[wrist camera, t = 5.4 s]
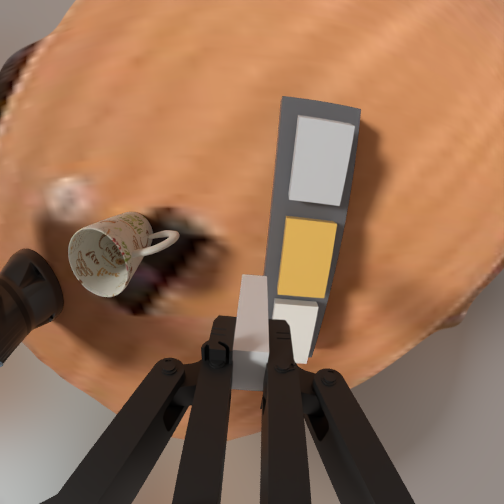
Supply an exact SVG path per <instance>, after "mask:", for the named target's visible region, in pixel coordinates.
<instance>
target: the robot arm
mask: <svg viewBox="0 0 504 504" xmlns="http://www.w3.org/2000/svg"><path fill="white" fill-rule="evenodd" d="M62 308H63V295H62V291H61V288H60V285H59V282H58V280H57V278H56V276H55V274H54V273H53V271H52V269H51V268H50V266H49V265H48V264H47V263H46V261H45V260H44V259H43V258H42V257H41V256H40V255H38V254H37V253H36V252H34V251H32V250H30V249H21V250H19V251H18V252H16V253H15V254H13V255H12V256H11V257H10V259H9V260H8V262H7V263H6V265H5V266H4V268H3V269H2V271H1V272H0V367H1V366H3V363H4V362H5V361H6V360H7V358H8V357H9V356H10V355H11V353H12V352H13V351H14V350H15V349H16V348H17V346H18V345H19V344H20V343H21V342H22V341H23V340H24V338H25V337H26V336H27V335H28V334H29V333H30V332H31V331H32V330H33V329H35V328H38V327H40V326H42V325H44V324H47V323H49V322H51V321H53V320H54V319H55V318H56V317H57V316H58V315H59V314H60V313H61V311H62ZM201 353H202V360H200V361H198V362H196V363H192V364H184V365H183V364H182V362H181V361H179V360H177V359H175V358H164V359H162V360H160V361H158V362H157V363H156V364H155V366H154V367H153V368H152V369H151V371H150V372H149V373H148V375H147V376H146V377H145V379H144V380H143V381H142V383H141V384H140V385H139V386H138V388H137V389H136V390H135V392H134V393H133V394H132V396H131V397H130V398H129V400H128V401H127V402H126V403H125V405H124V406H123V407H122V409H121V410H120V411H119V413H118V414H117V415H116V417H115V418H114V419H113V421H112V422H111V424H110V425H109V426H108V427H107V429H106V430H105V431H104V433H103V434H102V435H101V436H100V438H99V439H98V440H97V442H96V443H95V444H94V446H93V447H92V448H91V450H90V451H89V452H88V454H87V455H86V456H85V458H84V459H83V460H82V462H81V463H80V464H79V466H78V467H77V469H76V470H75V471H74V473H73V474H72V475H71V476H70V478H69V479H68V480H67V482H66V483H65V484H64V486H63V487H62V489H61V490H60V491H59V493H58V494H57V495H55V496H53V497H51V498H49V499H48V500H46V501H44V502H42V503H40V504H131V503H132V502H133V500H134V499H135V497H136V495H137V494H138V492H139V490H140V488H141V487H142V485H143V484H144V482H145V480H146V479H147V477H148V475H149V474H150V472H151V470H152V469H153V467H154V465H155V464H156V462H157V460H158V459H159V457H160V455H161V453H162V452H163V450H164V448H165V446H166V445H167V443H168V441H169V440H170V438H171V436H172V435H173V433H174V431H175V429H176V428H177V426H178V424H179V422H180V421H181V419H182V417H183V416H184V414H185V412H186V410H187V409H188V407H189V406H190V405H192V408H191V412H190V417H189V422H188V426H187V431H186V436H185V440H184V445H183V451H182V455H181V460H180V465H179V470H178V475H177V480H176V485H175V491H174V496H173V501H172V504H220V502H221V491H222V481H223V471H224V461H225V450H226V441H227V431H228V422H229V412H230V402H231V389H238V390H251V391H263V397H262V403H261V408H260V409H262V428H261V479H260V480H261V481H260V483H261V484H260V504H311V493H310V480H309V468H308V458H307V457H308V456H307V446H306V437H305V425H304V419H305V421H306V424H307V426H308V428H309V431H310V433H311V435H312V438H313V440H314V443H315V445H316V447H317V450H318V452H319V454H320V457H321V459H322V462H323V464H324V466H325V469H326V471H327V473H328V476H329V478H330V480H331V483H332V485H333V487H334V489H335V492H336V494H337V496H338V499H339V501H340V503H341V504H415V503H414V501H413V499H412V498H411V495H410V494H409V492H408V490H407V488H406V486H405V485H404V483H403V481H402V479H401V477H400V476H399V474H398V472H397V470H396V468H395V467H394V465H393V463H392V461H391V460H390V458H389V456H388V454H387V452H386V451H385V449H384V447H383V445H382V444H381V442H380V441H379V438H378V437H377V435H376V433H375V432H374V430H373V428H372V426H371V424H370V423H369V421H368V419H367V418H366V416H365V414H364V412H363V411H362V409H361V407H360V405H359V404H358V402H357V400H356V399H355V397H354V395H353V394H352V392H351V390H350V388H349V387H348V385H347V383H346V382H345V380H344V378H343V376H342V375H341V374H340V373H339V372H337V371H335V370H333V369H322V370H319V371H318V372H317V373H316V374H315V373H311V372H308V371H305V370H303V369H301V368H299V367H298V366H297V364H296V363H295V361H294V355H293V347H292V340H291V331H290V326H289V324H288V323H287V322H286V320H279V319H268V293H267V276H257V275H244V274H242V281H241V289H240V296H239V304H238V312H237V317H231V316H220V315H219V316H218V317H217V318H216V319H215V320H214V322H213V326H212V330H211V335H210V339H209V341H207V342H205V343H204V344H203V345H202V347H201Z"/></svg>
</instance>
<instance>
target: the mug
mask: <svg viewBox="0 0 504 504" xmlns="http://www.w3.org/2000/svg"><path fill="white" fill-rule="evenodd" d="M161 237H169V238H167V239H166V240H164V241H163V242H161V243H158V244H156V245H154V246H151V243H152V240H153V239H154V238H161ZM178 238H179V233H178V232H177V231H171V230H164V231H161V232H157V233H154V234H153V231H152V227H151V225H150V223H149V222H148V220H147V219H146V218H145V217H144V216H143V215H141V214H139V213H137V212H126V213H122V214H120V215H117V216H114V217H111V218H108V219H105V220H102V221H100V222H97V223H94V224H91V225H89V226H86V227H84V228H82V229H80V230H78V231H77V232H76V233H75V234H74V235H73V237H72V238H71V240H70V243H69V248H68V256H69V262H70V265H71V268H72V271H73V273H74V274H75V276H76V278H77V279H78V280H79V282H80V283H81V284H82V285H83V286H84V287H85V288H86V289H88V290H89V291H90V292H92V293H94V294H96V295H99V296H102V297H113V296H116V295H118V294H120V293H121V292H122V291H123V290H124V289H125V288H126V286H127V285H128V283H129V281H130V280H131V278H132V276H133V274H134V273H135V271H136V269H137V267H138V266H139V264H140V262H141V261H142V259H143V257H144V256H146V255H150V254H154V253H157V252H159V251H161V250H163V249H165V248H167V247H169V246H171V245H172V244H174V243H175V242H176V241H177V240H178ZM150 246H151V247H150Z"/></svg>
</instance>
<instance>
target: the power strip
mask: <svg viewBox="0 0 504 504" xmlns="http://www.w3.org/2000/svg"><path fill="white" fill-rule="evenodd" d="M360 114H361V109H358V108H353V107H349V106H344V105H339V104H333V103H328V102H322V101H316V100H309V99H302V98H294V97H286V96H282V99H281V105H280V116H279V127H278V138H277V149H276V159H275V170H274V180H273V190H272V200H271V210H270V219H269V229H268V238H267V248H266V257H265V266H264V275H263V276H267V293H268V319H272V316H273V308H274V300H275V298H279V299H290V300H303V301H316V302H317V304H318V312H317V318H316V323H315V327H314V332H313V337H312V342H311V346H310V351H309V355H308V357H312V355H313V351H314V348H315V345H316V341H317V338H318V335H319V331H320V328H321V324H322V320H323V317H324V313H325V309H326V305H327V302H328V298H329V294H330V290H331V286H332V282H333V277H334V273H335V269H336V264H337V260H338V255H339V251H340V246H341V241H342V236H343V231H344V226H345V221H346V216H347V210H348V204H349V198H350V192H351V186H352V180H353V173H354V166H355V159H356V151H357V143H358V134H359V124H360ZM298 115H301V116H309V117H315V118H322V119H328V120H334V121H339V122H344V123H349V124H352V125H354V126H355V129H354V135H353V141H352V147H351V152H350V158H349V163H348V168H347V173H346V178H345V183H344V188H343V192H342V197H341V202H340V206H336V205H328V204H321V203H313V202H304V201H296V200H289V194H288V193H289V185H290V178H291V170H292V162H293V154H294V146H295V137H296V128H297V119H298ZM286 216H293V217H302V218H311V219H319V220H327V221H334V222H335V223H336V224H337V227H336V234H335V240H334V247H333V253H332V259H331V264H330V270H329V276H328V281H327V286H326V291H325V296H324V298H314V297H301V296H289V295H278V292H277V286H278V278H279V271H280V263H281V254H282V246H283V238H284V229H285V220H286Z"/></svg>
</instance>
